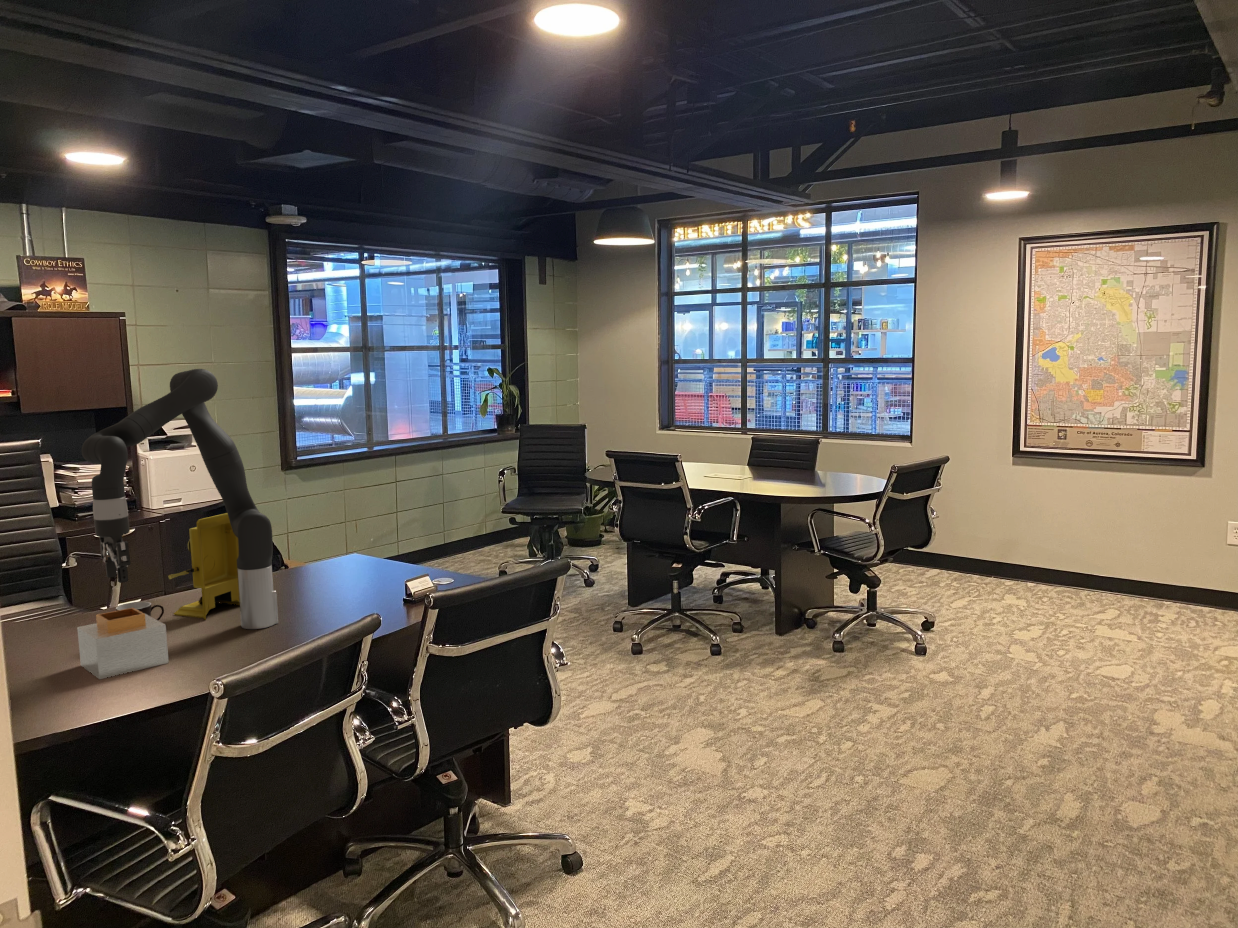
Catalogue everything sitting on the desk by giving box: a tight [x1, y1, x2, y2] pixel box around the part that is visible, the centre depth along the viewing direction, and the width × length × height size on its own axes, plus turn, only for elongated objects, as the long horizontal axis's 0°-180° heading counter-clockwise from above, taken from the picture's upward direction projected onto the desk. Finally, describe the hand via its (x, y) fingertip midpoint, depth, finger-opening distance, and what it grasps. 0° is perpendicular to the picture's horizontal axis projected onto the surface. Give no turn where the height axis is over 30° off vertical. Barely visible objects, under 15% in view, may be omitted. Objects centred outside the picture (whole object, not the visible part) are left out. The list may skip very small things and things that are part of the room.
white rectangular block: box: [76, 608, 169, 680], centre depth 234 cm, size 16×15×13 cm
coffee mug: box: [115, 601, 165, 621], centre depth 253 cm, size 12×9×10 cm
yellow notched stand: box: [168, 512, 240, 621], centre depth 282 cm, size 31×14×30 cm, turn 160°
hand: (117, 579), depth 232 cm, fingers open, 8 cm apart
